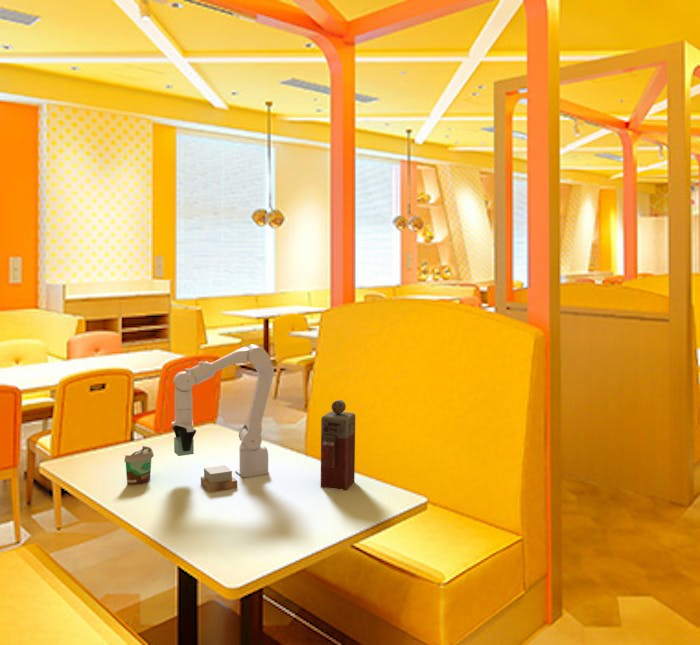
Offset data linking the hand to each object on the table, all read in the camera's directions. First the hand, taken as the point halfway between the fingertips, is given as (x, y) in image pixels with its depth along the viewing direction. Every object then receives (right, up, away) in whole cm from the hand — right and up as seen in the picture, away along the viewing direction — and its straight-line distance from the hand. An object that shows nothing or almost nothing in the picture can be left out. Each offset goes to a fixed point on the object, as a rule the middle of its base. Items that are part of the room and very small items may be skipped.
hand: (184, 448), depth 225 cm
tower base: (+13, -12, -6) cm, 18 cm away
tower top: (+12, -9, -6) cm, 16 cm away
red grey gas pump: (+51, -12, -3) cm, 52 cm away
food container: (-13, -11, -1) cm, 17 cm away
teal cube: (0, -2, 0) cm, 2 cm away
